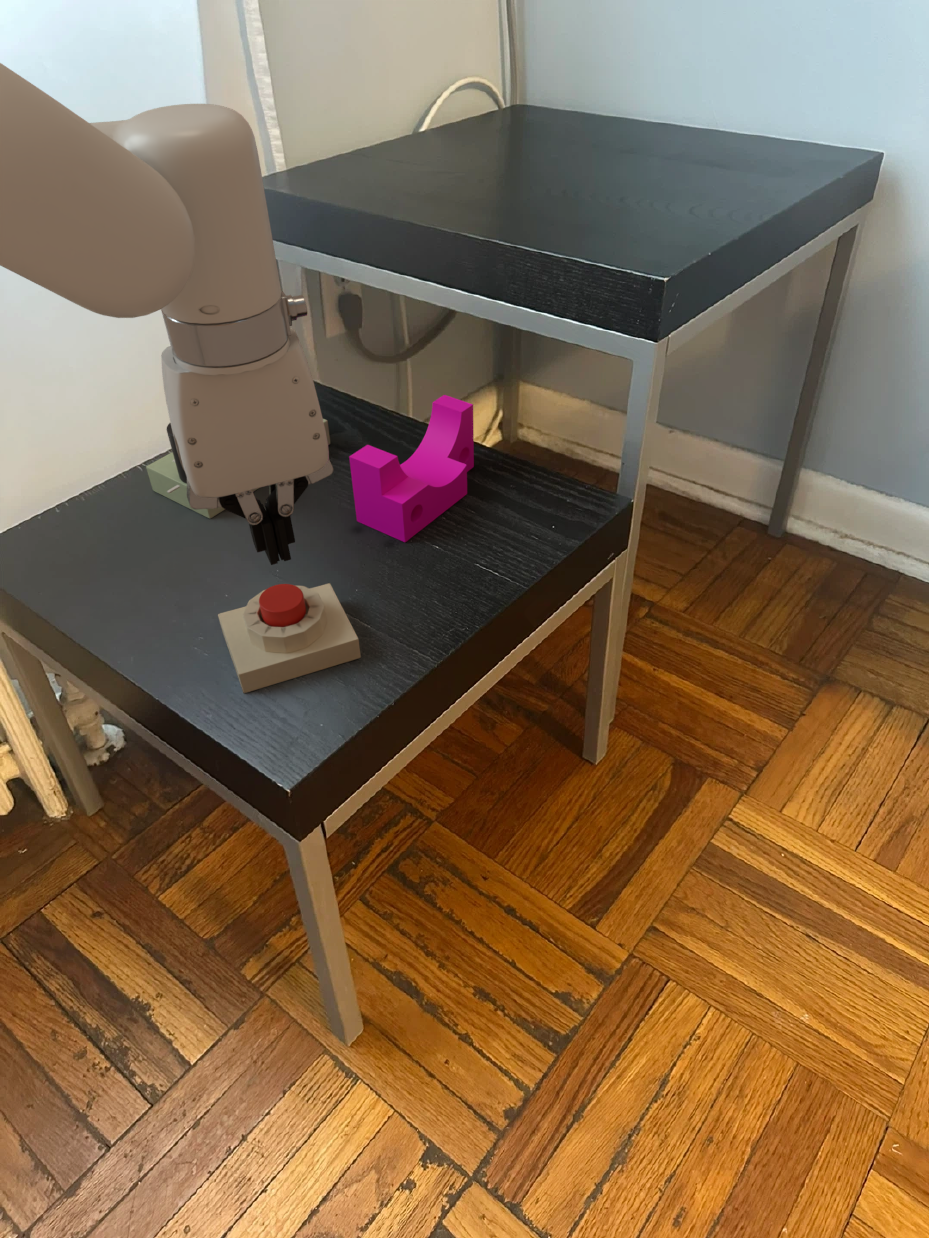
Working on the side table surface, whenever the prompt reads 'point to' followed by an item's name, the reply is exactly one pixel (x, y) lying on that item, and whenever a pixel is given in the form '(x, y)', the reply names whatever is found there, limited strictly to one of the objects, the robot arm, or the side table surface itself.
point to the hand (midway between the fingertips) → (276, 552)
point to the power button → (282, 605)
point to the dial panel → (173, 488)
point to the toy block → (416, 474)
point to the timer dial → (176, 455)
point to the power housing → (289, 640)
